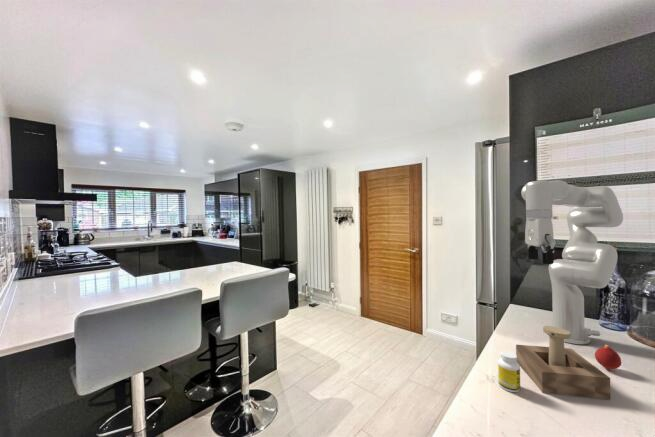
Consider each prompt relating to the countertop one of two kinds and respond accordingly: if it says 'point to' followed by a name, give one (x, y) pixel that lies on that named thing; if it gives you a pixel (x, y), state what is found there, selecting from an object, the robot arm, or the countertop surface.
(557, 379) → the well block
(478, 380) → the countertop surface
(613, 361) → the onion
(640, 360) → the countertop surface
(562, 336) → the handle
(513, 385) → the supplement bottle
